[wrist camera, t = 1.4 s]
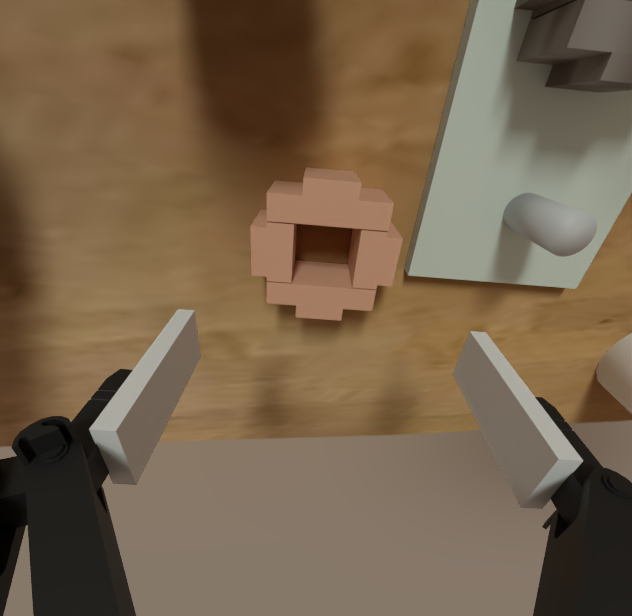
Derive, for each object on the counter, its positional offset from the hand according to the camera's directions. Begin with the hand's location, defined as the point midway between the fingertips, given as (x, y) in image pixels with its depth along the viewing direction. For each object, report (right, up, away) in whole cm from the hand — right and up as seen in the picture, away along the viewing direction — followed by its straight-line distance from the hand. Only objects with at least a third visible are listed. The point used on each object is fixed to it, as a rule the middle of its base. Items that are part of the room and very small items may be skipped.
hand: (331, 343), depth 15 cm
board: (+17, +16, +8) cm, 25 cm away
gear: (0, +8, +13) cm, 16 cm away
